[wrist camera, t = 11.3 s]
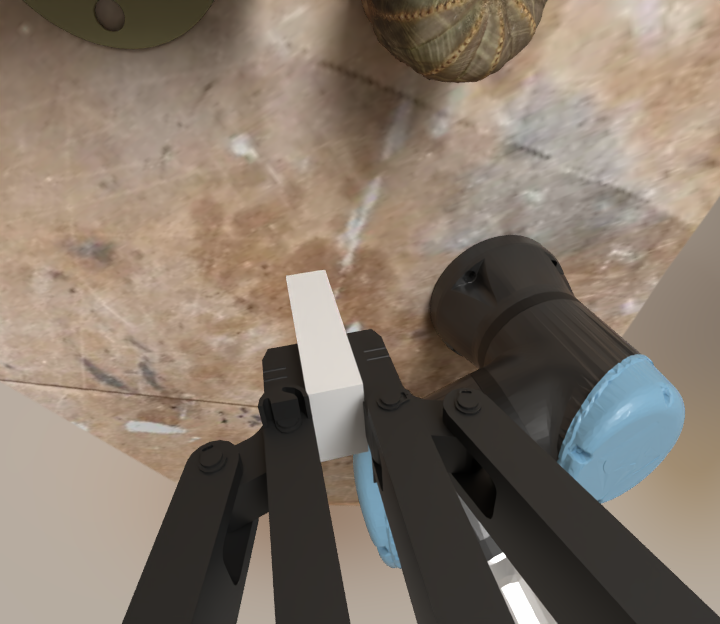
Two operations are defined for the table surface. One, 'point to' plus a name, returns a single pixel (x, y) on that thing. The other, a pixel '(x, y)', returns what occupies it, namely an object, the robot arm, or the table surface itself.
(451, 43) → the green ball cactus
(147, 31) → the flange
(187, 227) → the table surface
